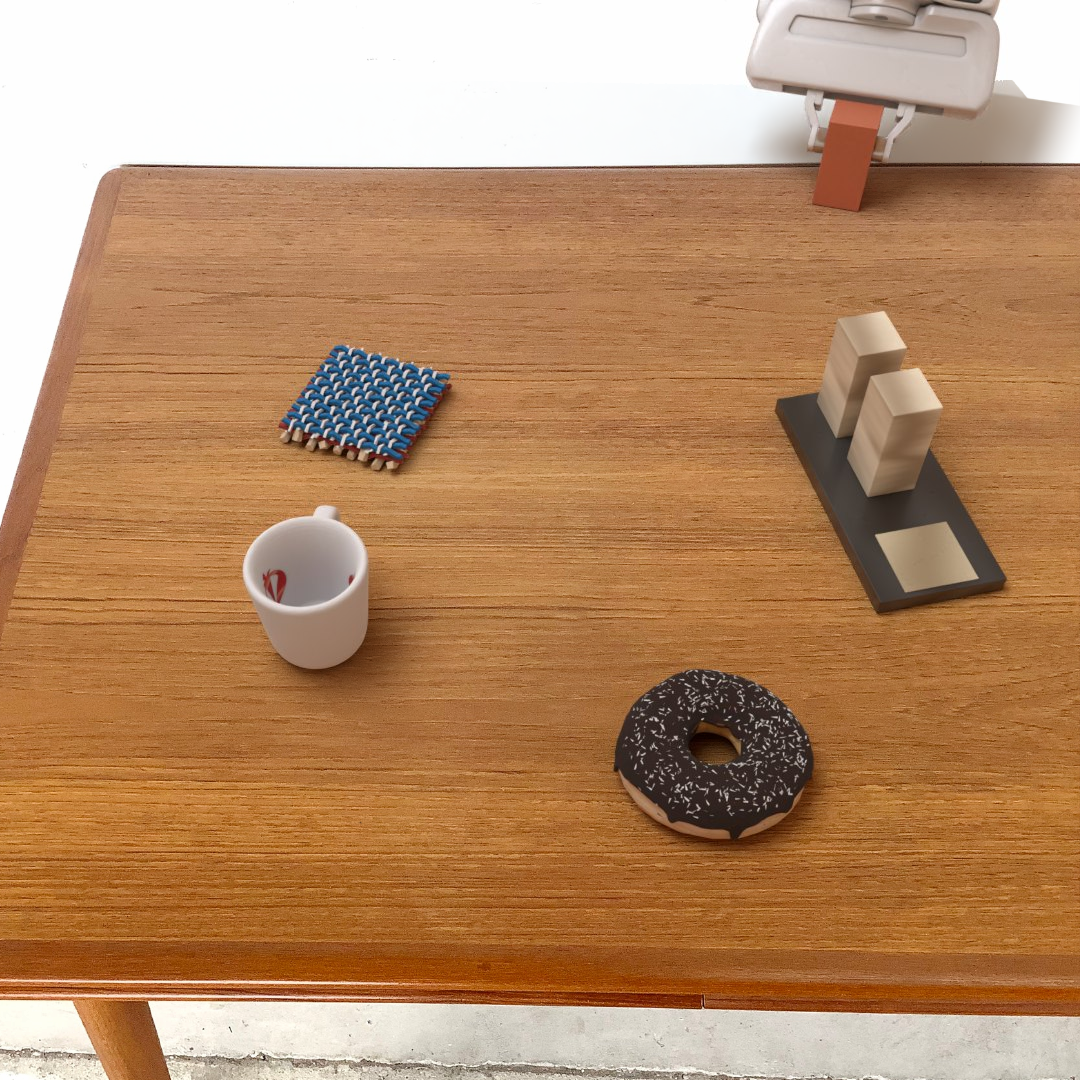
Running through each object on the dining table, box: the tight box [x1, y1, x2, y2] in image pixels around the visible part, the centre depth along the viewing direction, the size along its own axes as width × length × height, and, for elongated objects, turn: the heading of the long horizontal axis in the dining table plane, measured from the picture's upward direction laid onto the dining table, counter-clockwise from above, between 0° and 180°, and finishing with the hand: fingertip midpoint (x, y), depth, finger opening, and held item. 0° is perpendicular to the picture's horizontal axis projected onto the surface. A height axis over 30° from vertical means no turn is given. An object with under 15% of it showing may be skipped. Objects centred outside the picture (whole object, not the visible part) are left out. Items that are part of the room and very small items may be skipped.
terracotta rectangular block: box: [811, 99, 885, 212], centre depth 112 cm, size 4×4×8 cm
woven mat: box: [277, 344, 453, 471], centre depth 100 cm, size 10×11×2 cm
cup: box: [242, 504, 370, 670], centre depth 86 cm, size 11×8×8 cm
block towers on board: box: [774, 310, 1008, 614], centre depth 90 cm, size 9×20×9 cm, turn 11°
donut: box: [612, 668, 815, 842], centre depth 80 cm, size 11×12×4 cm
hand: (847, 156), depth 111 cm, fingers closed on terracotta rectangular block, 4 cm apart
